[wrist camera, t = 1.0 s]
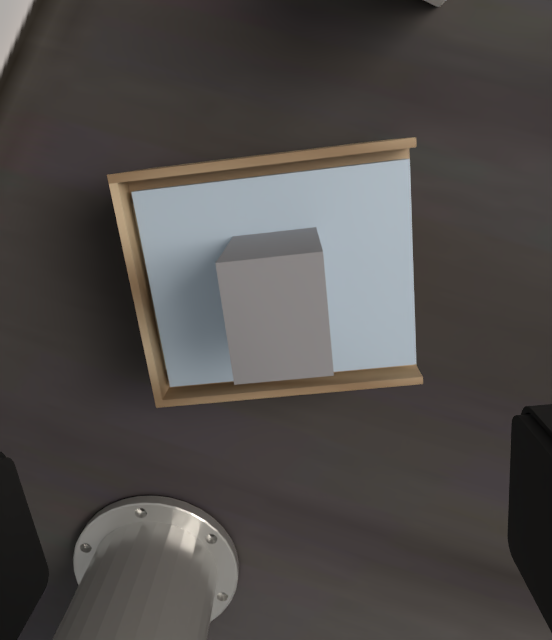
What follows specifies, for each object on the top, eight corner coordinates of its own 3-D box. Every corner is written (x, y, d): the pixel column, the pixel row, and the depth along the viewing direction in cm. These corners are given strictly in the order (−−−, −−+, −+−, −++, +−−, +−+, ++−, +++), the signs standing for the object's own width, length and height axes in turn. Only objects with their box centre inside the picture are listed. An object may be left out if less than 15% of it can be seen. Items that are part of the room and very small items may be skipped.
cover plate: (412, 356, 28) (449, 423, 21) (174, 378, 28) (137, 449, 22) (405, 158, 24) (447, 163, 18) (137, 190, 25) (81, 205, 19)
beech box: (395, 333, 33) (422, 383, 26) (184, 353, 34) (156, 407, 27) (386, 139, 30) (416, 137, 23) (150, 168, 31) (106, 174, 24)
